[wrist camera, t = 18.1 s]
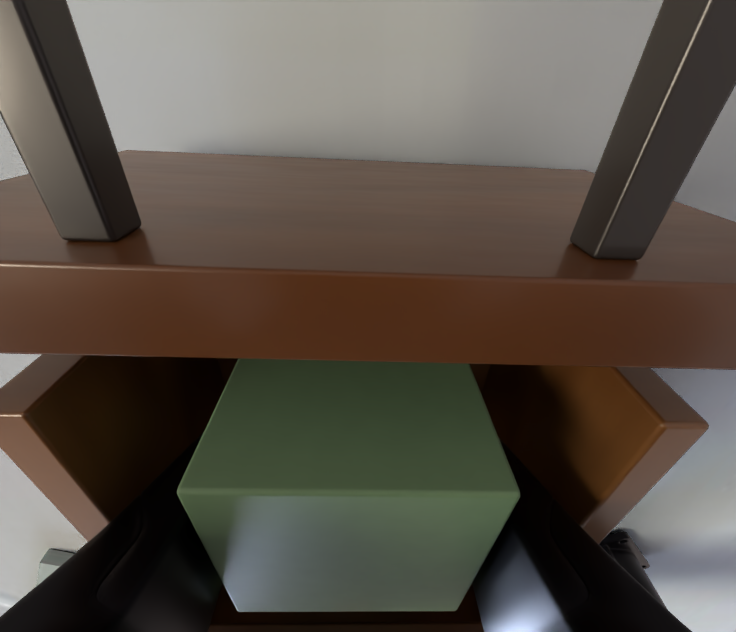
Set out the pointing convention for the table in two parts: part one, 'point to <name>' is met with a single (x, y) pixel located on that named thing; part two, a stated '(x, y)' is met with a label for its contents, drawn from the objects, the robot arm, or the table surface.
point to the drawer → (358, 283)
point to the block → (348, 485)
